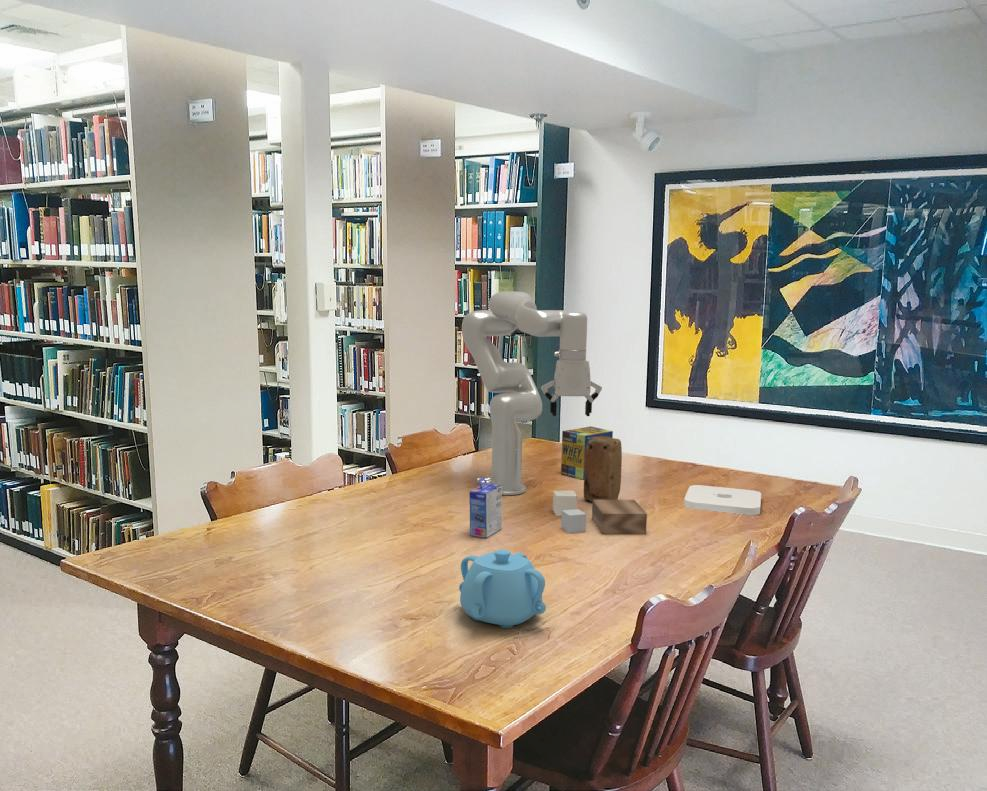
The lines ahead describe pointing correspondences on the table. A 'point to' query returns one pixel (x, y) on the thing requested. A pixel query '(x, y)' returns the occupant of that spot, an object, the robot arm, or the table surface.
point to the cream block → (564, 501)
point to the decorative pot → (501, 588)
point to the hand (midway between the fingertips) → (570, 415)
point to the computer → (723, 499)
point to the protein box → (578, 449)
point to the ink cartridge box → (485, 509)
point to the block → (602, 469)
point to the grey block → (573, 521)
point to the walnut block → (619, 517)
